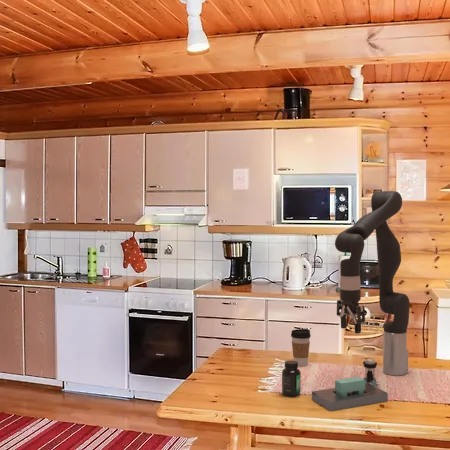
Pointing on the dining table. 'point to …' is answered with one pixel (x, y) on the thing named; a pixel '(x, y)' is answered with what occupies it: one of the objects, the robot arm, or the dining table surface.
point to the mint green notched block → (349, 386)
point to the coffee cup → (300, 346)
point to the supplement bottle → (291, 379)
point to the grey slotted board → (349, 398)
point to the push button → (370, 372)
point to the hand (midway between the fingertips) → (350, 330)
